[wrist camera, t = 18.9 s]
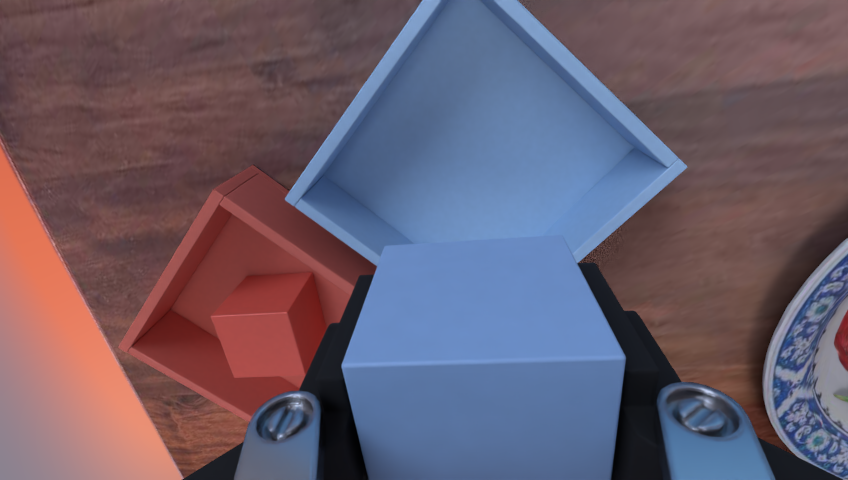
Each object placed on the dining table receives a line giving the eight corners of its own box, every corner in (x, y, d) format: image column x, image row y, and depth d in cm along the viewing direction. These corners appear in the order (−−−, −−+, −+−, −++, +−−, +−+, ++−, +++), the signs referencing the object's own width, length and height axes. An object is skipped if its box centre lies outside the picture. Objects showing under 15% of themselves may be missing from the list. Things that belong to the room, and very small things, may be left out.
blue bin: (312, 173, 25) (283, 199, 21) (460, -37, 20) (461, -55, 16) (481, 299, 28) (484, 344, 24) (647, 144, 23) (688, 167, 19)
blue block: (405, 377, 13) (380, 534, 9) (384, 244, 11) (339, 365, 7) (558, 374, 12) (605, 537, 8) (563, 233, 10) (627, 357, 6)
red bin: (163, 305, 30) (117, 347, 26) (253, 164, 25) (212, 188, 21) (320, 401, 33) (300, 452, 29) (427, 291, 28) (422, 334, 24)
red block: (264, 331, 30) (233, 378, 25) (246, 275, 28) (209, 316, 24) (327, 328, 29) (305, 376, 25) (312, 271, 27) (287, 312, 23)
